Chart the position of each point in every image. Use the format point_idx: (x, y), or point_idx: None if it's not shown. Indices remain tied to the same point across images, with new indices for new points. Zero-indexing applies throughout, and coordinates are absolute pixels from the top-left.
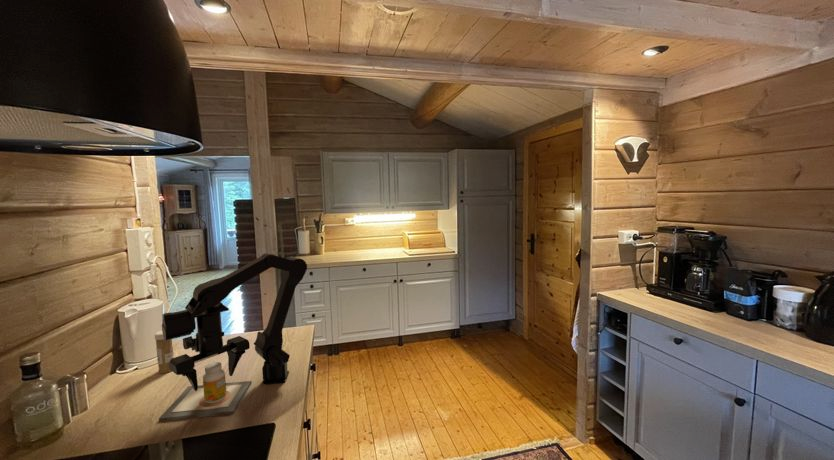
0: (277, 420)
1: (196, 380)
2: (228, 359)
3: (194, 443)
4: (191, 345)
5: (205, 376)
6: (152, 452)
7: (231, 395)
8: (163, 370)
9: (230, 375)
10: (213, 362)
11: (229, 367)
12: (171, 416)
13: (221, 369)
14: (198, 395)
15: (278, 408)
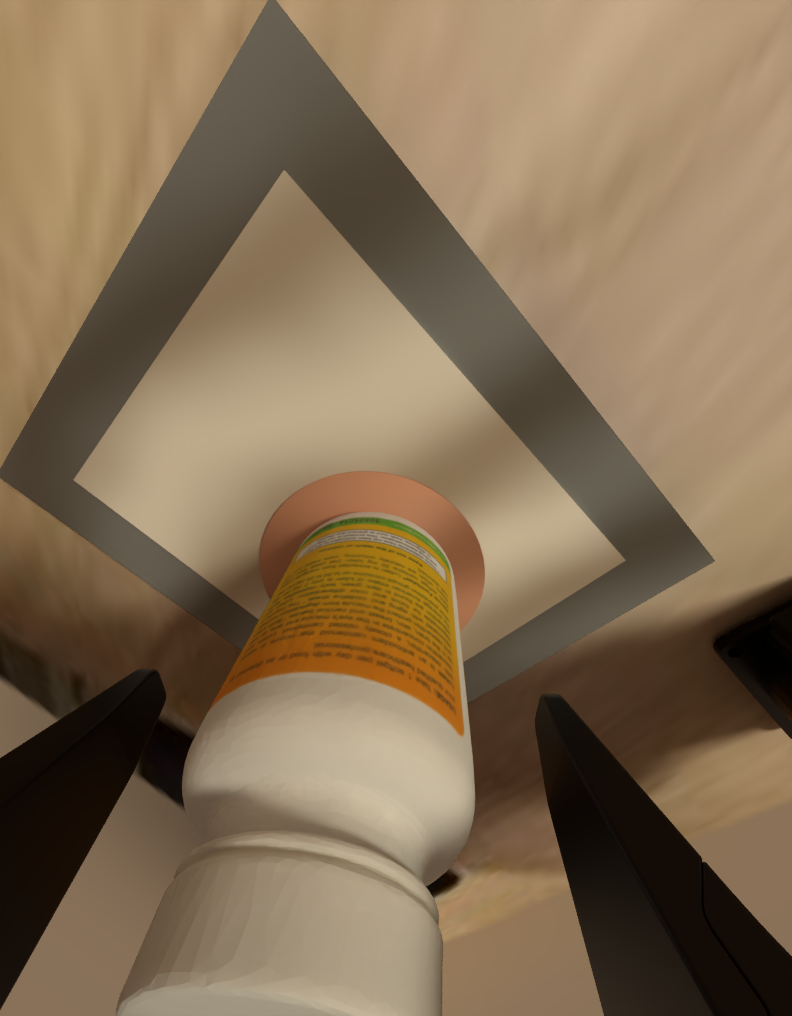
0: (476, 878)
1: (44, 917)
2: (691, 983)
3: (180, 766)
4: None
5: (196, 833)
6: (22, 694)
7: (466, 632)
8: None
9: (538, 719)
10: (335, 1010)
11: (584, 816)
12: (78, 525)
13: (446, 850)
14: (292, 407)
15: (540, 842)
